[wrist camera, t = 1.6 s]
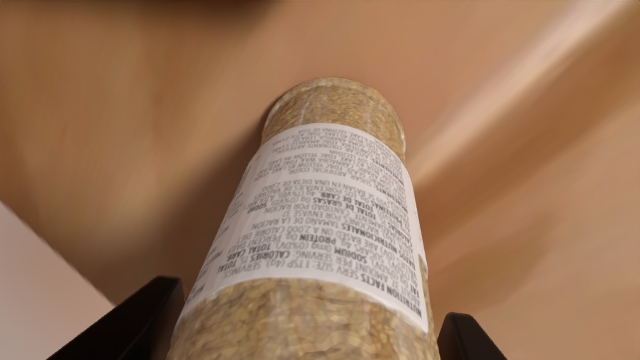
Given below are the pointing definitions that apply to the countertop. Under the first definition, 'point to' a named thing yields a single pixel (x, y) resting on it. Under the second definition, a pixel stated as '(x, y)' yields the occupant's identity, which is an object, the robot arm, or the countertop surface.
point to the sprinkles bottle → (317, 242)
